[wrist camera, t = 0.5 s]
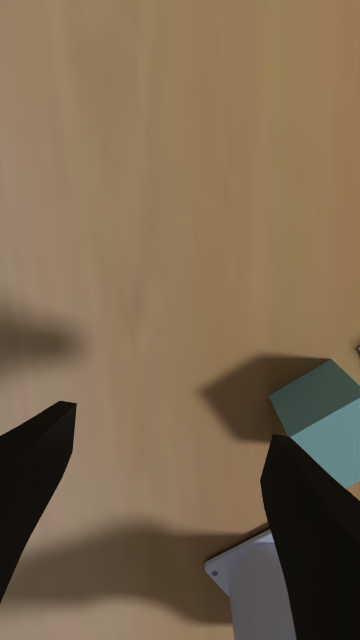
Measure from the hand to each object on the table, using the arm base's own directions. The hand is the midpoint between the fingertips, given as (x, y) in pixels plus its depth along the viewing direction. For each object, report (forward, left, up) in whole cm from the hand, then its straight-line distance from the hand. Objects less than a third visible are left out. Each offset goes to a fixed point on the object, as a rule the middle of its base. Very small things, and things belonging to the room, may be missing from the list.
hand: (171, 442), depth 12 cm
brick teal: (-9, -5, -10) cm, 14 cm away
